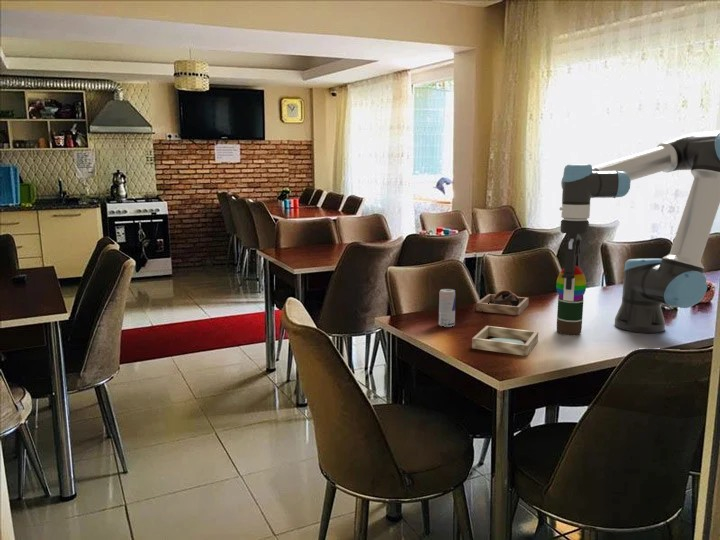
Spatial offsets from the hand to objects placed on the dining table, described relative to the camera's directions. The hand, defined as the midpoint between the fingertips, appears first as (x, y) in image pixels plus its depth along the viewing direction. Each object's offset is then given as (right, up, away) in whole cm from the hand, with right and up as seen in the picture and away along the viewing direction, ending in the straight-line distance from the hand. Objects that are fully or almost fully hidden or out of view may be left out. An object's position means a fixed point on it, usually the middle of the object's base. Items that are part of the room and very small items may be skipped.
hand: (570, 297), depth 172 cm
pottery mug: (-6, -7, +51) cm, 52 cm away
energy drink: (-32, -11, +27) cm, 44 cm away
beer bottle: (+6, -12, +18) cm, 23 cm away
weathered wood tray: (-7, -6, +51) cm, 52 cm away
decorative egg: (0, -1, 0) cm, 1 cm away
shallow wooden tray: (-18, -14, +5) cm, 23 cm away
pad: (-18, -14, +5) cm, 23 cm away
